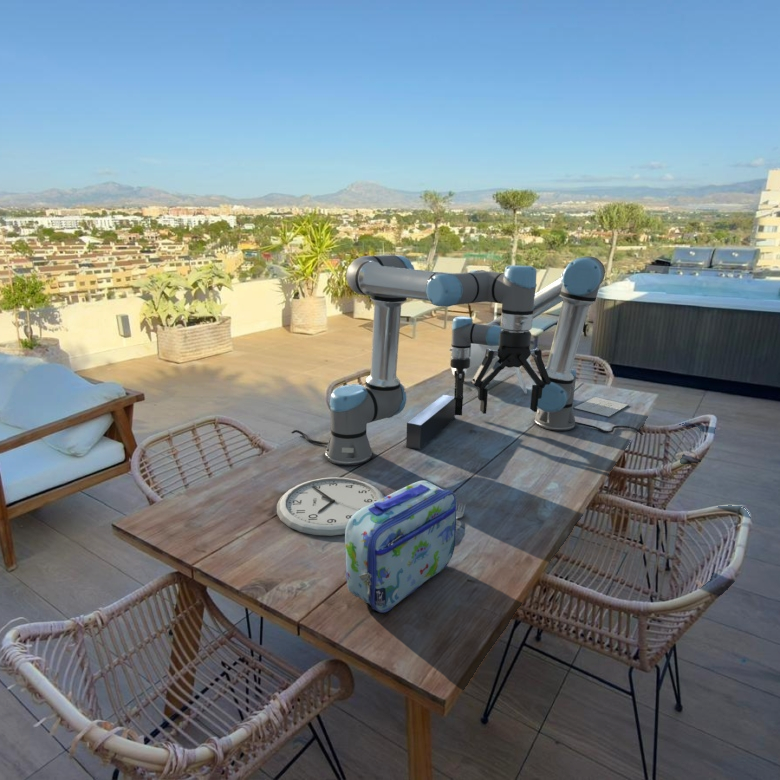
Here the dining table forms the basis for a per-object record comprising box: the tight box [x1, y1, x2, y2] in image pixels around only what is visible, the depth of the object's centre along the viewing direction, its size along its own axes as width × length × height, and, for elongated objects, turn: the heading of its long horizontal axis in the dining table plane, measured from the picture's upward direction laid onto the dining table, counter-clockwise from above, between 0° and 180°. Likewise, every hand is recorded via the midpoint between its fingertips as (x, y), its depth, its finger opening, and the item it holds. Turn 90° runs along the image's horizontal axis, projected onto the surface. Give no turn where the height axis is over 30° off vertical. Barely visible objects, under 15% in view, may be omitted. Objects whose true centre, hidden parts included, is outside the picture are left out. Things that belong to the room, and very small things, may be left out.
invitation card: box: [573, 396, 629, 418], centre depth 226 cm, size 21×1×15 cm
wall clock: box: [276, 476, 386, 537], centre depth 142 cm, size 30×2×30 cm
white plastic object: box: [450, 343, 536, 394], centre depth 253 cm, size 37×45×31 cm
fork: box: [456, 501, 466, 520], centre depth 134 cm, size 3×16×2 cm, turn 160°
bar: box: [405, 394, 456, 451], centre depth 194 cm, size 36×5×9 cm, turn 154°
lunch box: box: [344, 480, 457, 614], centre depth 109 cm, size 26×11×21 cm, turn 135°
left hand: (508, 411), depth 135 cm, fingers open, 13 cm apart
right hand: (457, 409), depth 208 cm, fingers open, 13 cm apart
